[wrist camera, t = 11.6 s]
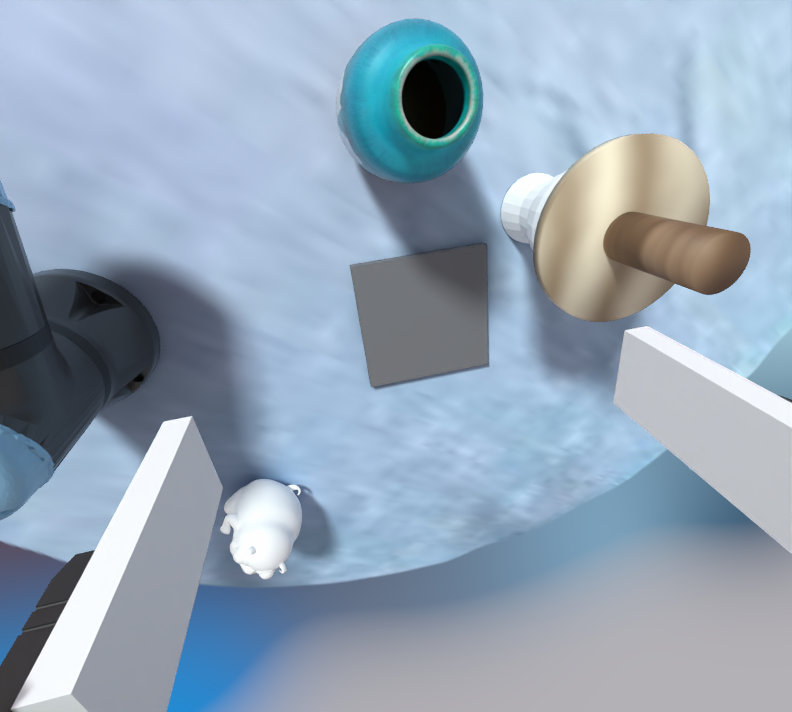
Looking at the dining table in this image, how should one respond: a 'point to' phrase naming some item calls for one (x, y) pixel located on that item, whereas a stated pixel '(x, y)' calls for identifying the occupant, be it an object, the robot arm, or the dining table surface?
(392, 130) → the vase
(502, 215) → the cup
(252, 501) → the figurine
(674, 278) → the lid
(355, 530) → the dining table surface
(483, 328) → the mat
